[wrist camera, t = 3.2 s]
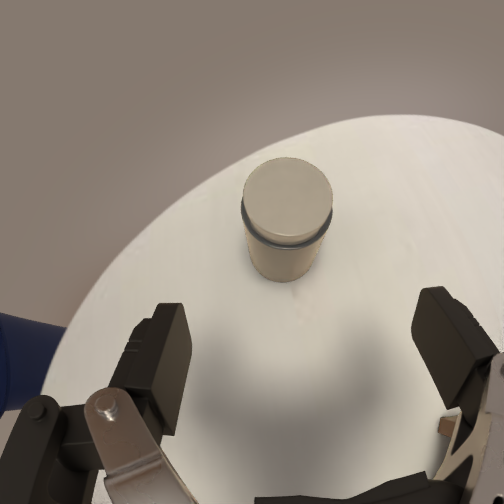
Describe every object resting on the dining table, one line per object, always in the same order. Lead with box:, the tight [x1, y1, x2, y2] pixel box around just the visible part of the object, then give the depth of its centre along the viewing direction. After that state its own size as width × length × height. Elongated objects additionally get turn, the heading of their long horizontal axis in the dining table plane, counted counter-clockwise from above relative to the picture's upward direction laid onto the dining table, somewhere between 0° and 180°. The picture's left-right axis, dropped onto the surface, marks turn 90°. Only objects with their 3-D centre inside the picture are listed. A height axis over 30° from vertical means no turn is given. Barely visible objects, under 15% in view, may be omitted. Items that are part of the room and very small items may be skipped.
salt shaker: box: [241, 157, 333, 282], centre depth 17 cm, size 4×4×8 cm
